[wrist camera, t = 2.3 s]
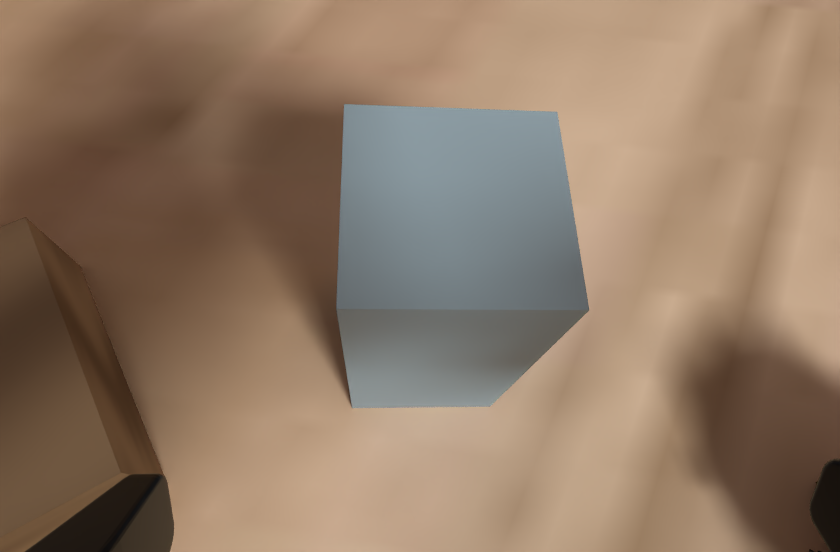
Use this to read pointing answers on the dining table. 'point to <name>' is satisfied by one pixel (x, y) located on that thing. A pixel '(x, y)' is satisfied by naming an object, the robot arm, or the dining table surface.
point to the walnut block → (57, 393)
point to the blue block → (452, 252)
